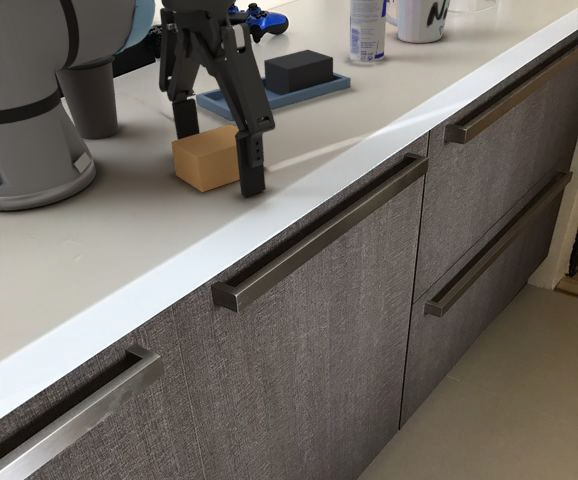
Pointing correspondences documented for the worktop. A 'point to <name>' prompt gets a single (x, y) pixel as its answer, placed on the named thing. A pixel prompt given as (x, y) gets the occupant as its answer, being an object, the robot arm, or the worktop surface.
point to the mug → (420, 19)
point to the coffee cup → (91, 97)
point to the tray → (273, 96)
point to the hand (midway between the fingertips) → (220, 174)
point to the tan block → (207, 158)
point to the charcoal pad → (297, 71)
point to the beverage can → (367, 30)
